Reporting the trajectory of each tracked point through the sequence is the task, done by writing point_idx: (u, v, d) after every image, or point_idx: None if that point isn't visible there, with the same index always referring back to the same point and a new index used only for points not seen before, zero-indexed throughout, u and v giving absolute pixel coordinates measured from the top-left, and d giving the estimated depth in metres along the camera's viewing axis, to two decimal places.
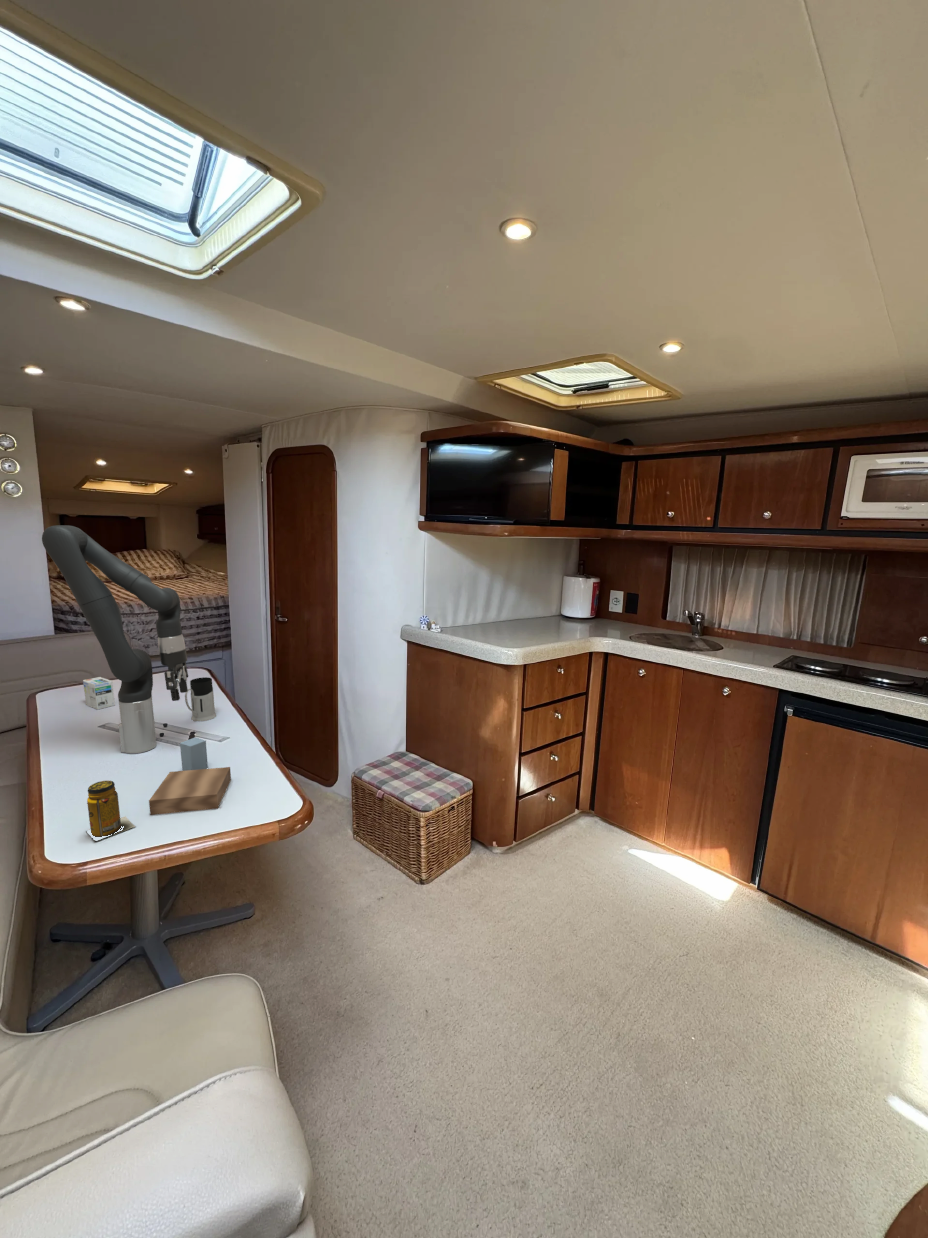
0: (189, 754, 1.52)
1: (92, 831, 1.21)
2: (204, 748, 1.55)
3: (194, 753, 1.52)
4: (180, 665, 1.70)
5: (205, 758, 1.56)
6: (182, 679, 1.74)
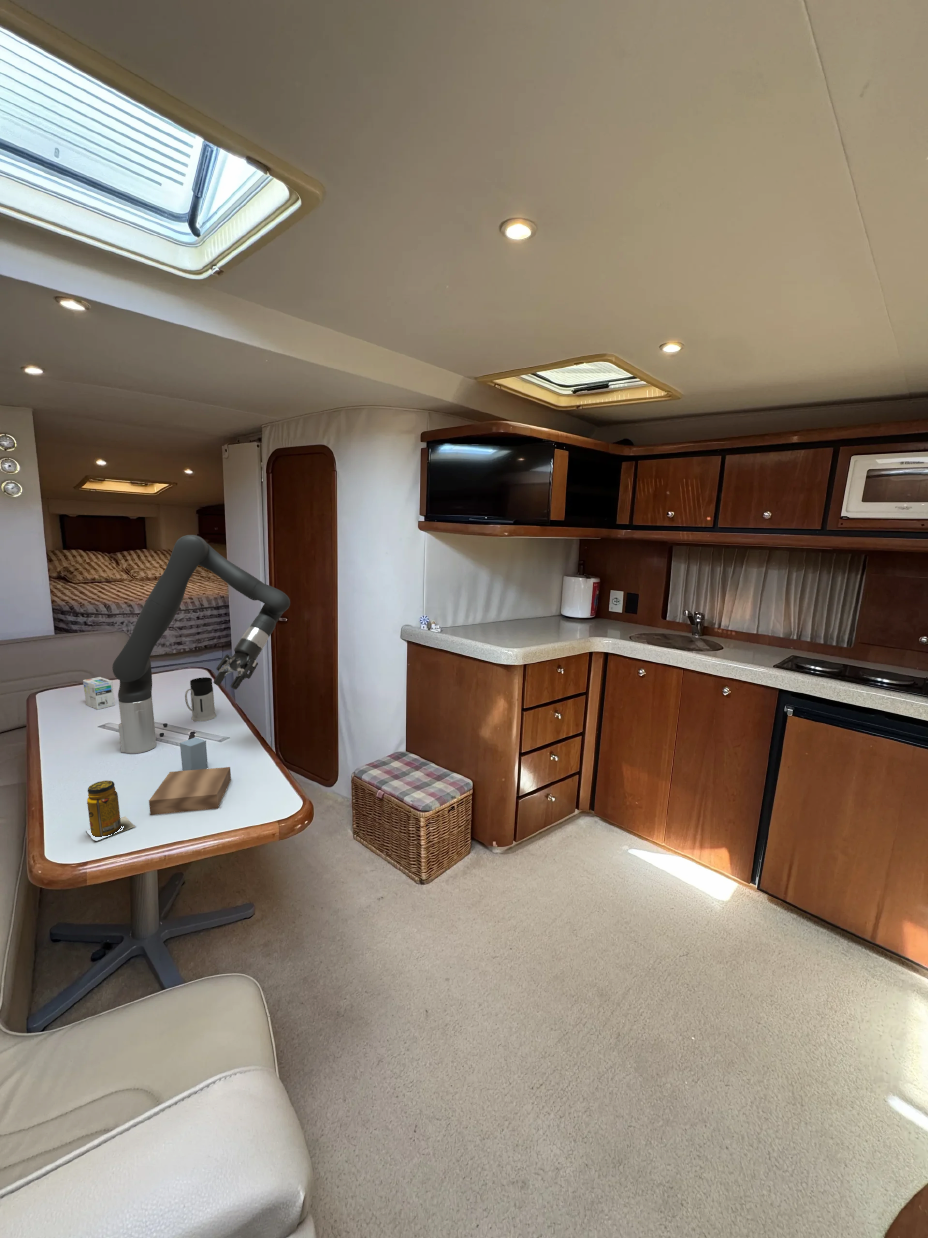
0: (189, 754, 1.52)
1: (92, 831, 1.21)
2: (204, 748, 1.55)
3: (194, 753, 1.53)
4: None
5: (205, 758, 1.56)
6: (224, 672, 1.66)
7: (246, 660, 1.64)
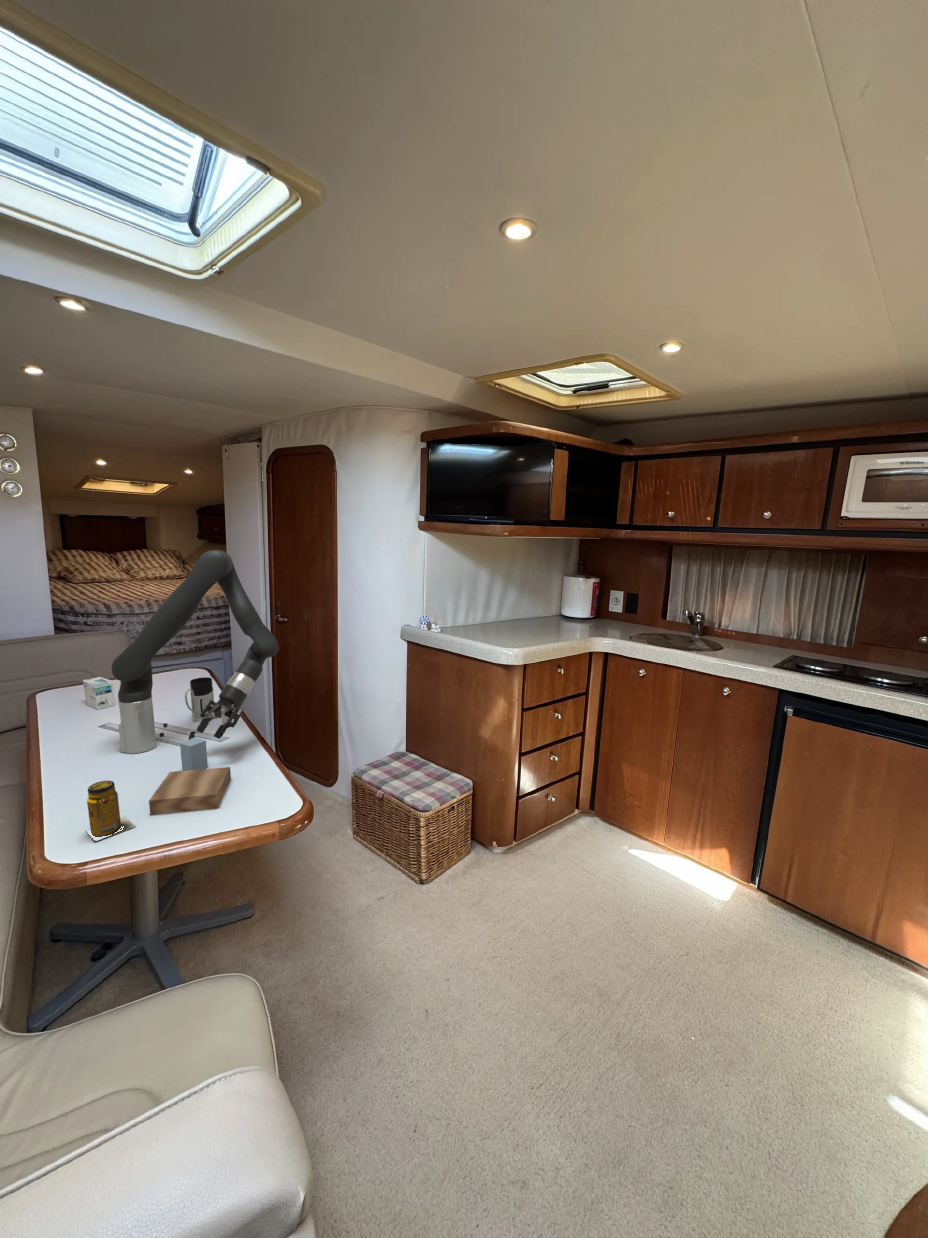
0: (189, 754, 1.52)
1: (92, 831, 1.21)
2: (204, 748, 1.55)
3: (194, 753, 1.52)
4: None
5: (205, 758, 1.56)
6: (208, 719, 1.63)
7: (231, 708, 1.61)
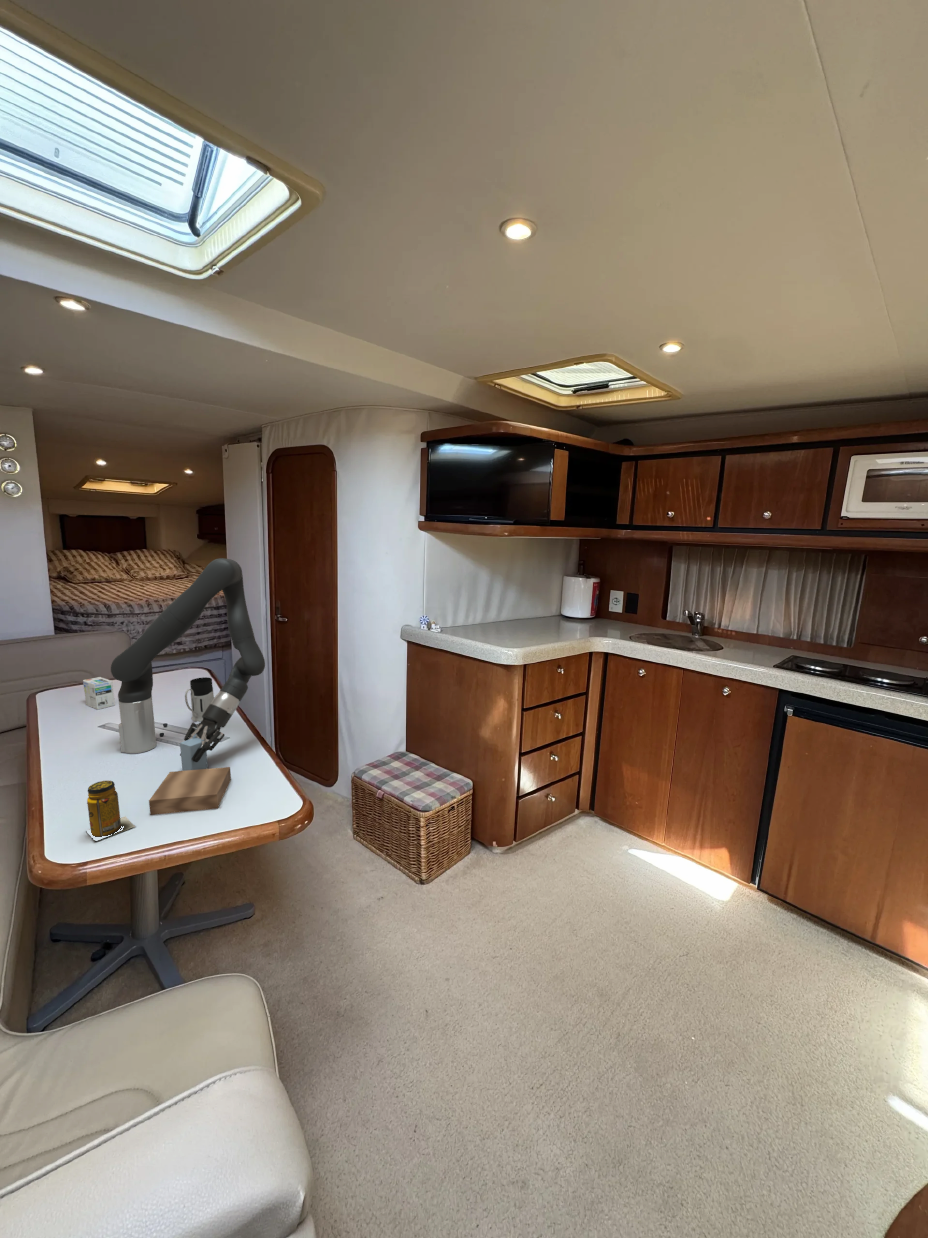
0: (189, 754, 1.52)
1: (92, 831, 1.21)
2: None
3: (194, 753, 1.52)
4: None
5: (205, 758, 1.56)
6: None
7: (213, 729, 1.56)
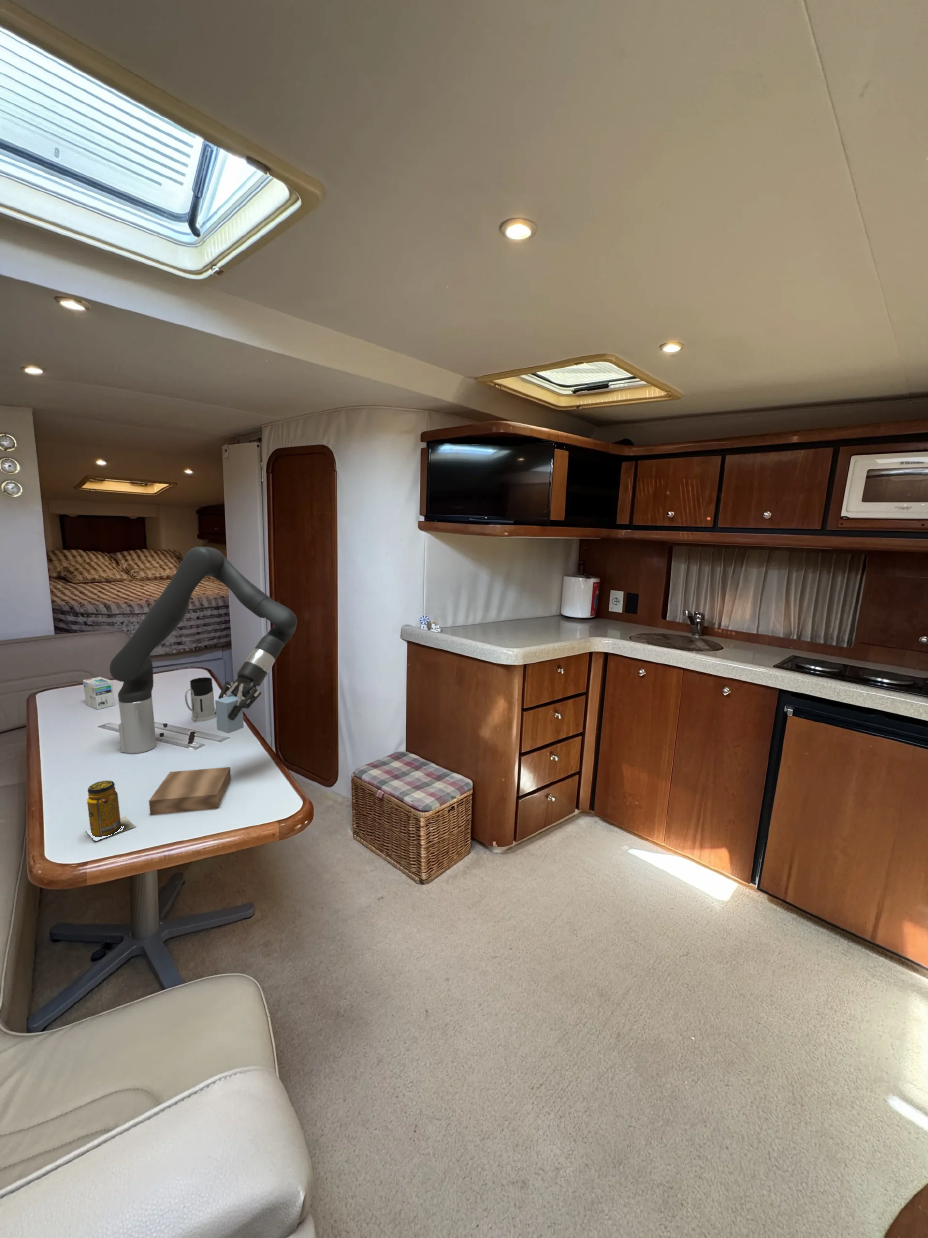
0: (225, 711, 1.45)
1: (92, 831, 1.21)
2: None
3: None
4: None
5: (241, 717, 1.49)
6: None
7: (250, 687, 1.49)
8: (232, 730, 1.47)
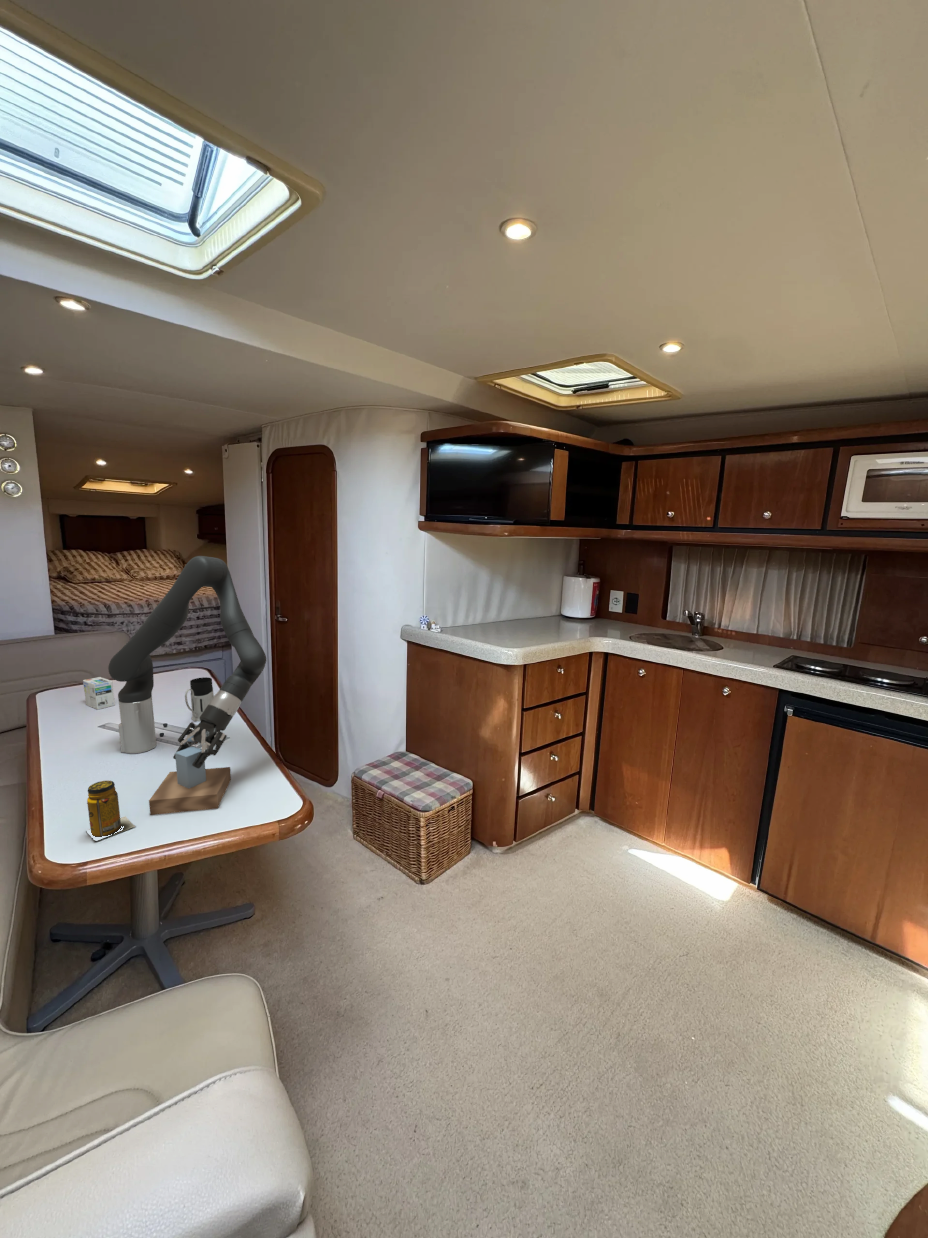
0: (185, 765, 1.36)
1: (92, 831, 1.21)
2: None
3: (191, 764, 1.36)
4: None
5: (203, 770, 1.40)
6: (187, 744, 1.42)
7: (213, 732, 1.40)
8: (193, 785, 1.38)
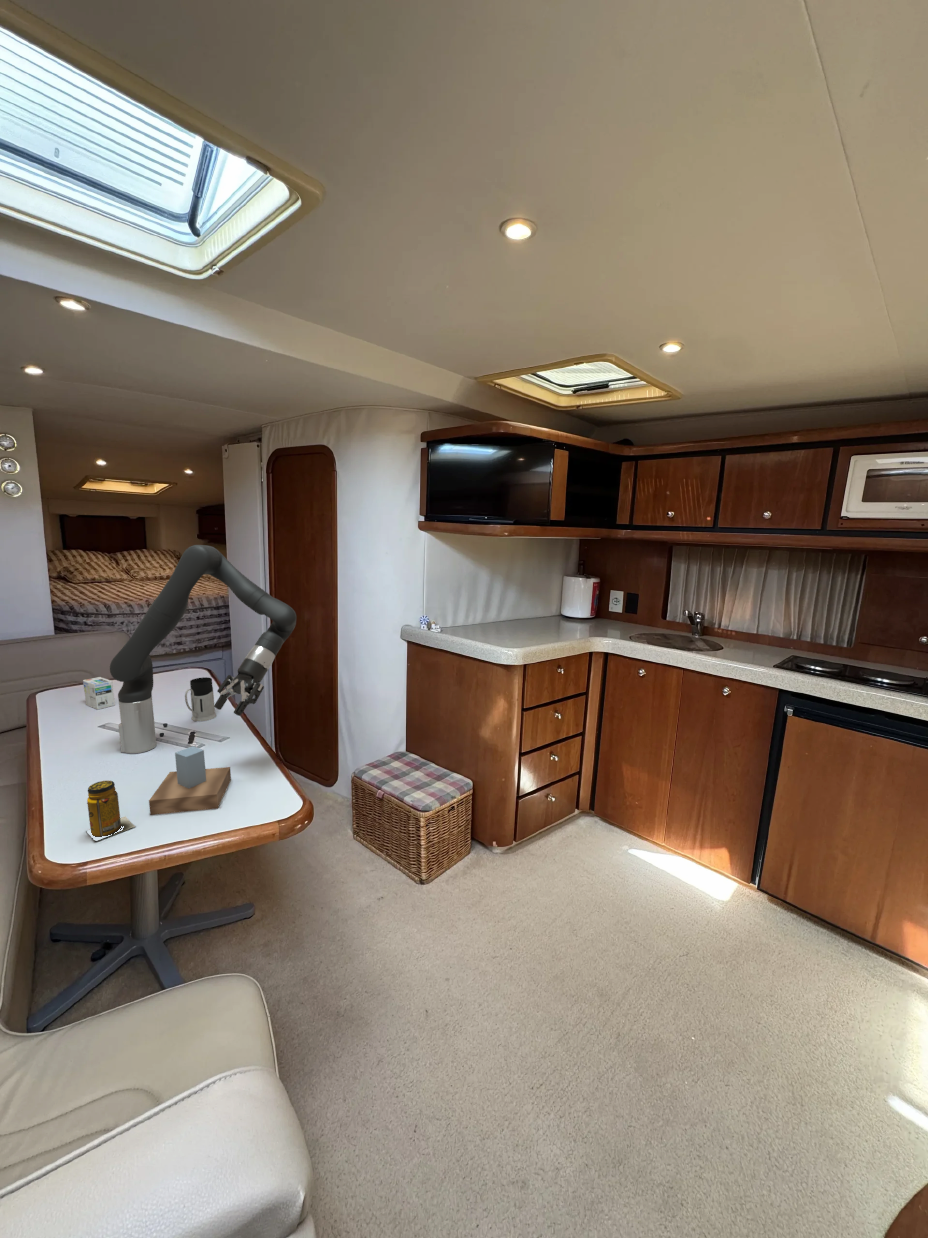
0: (185, 765, 1.36)
1: (92, 831, 1.21)
2: (202, 758, 1.39)
3: (191, 764, 1.36)
4: None
5: (203, 770, 1.40)
6: (226, 695, 1.52)
7: (251, 683, 1.50)
8: (193, 785, 1.38)
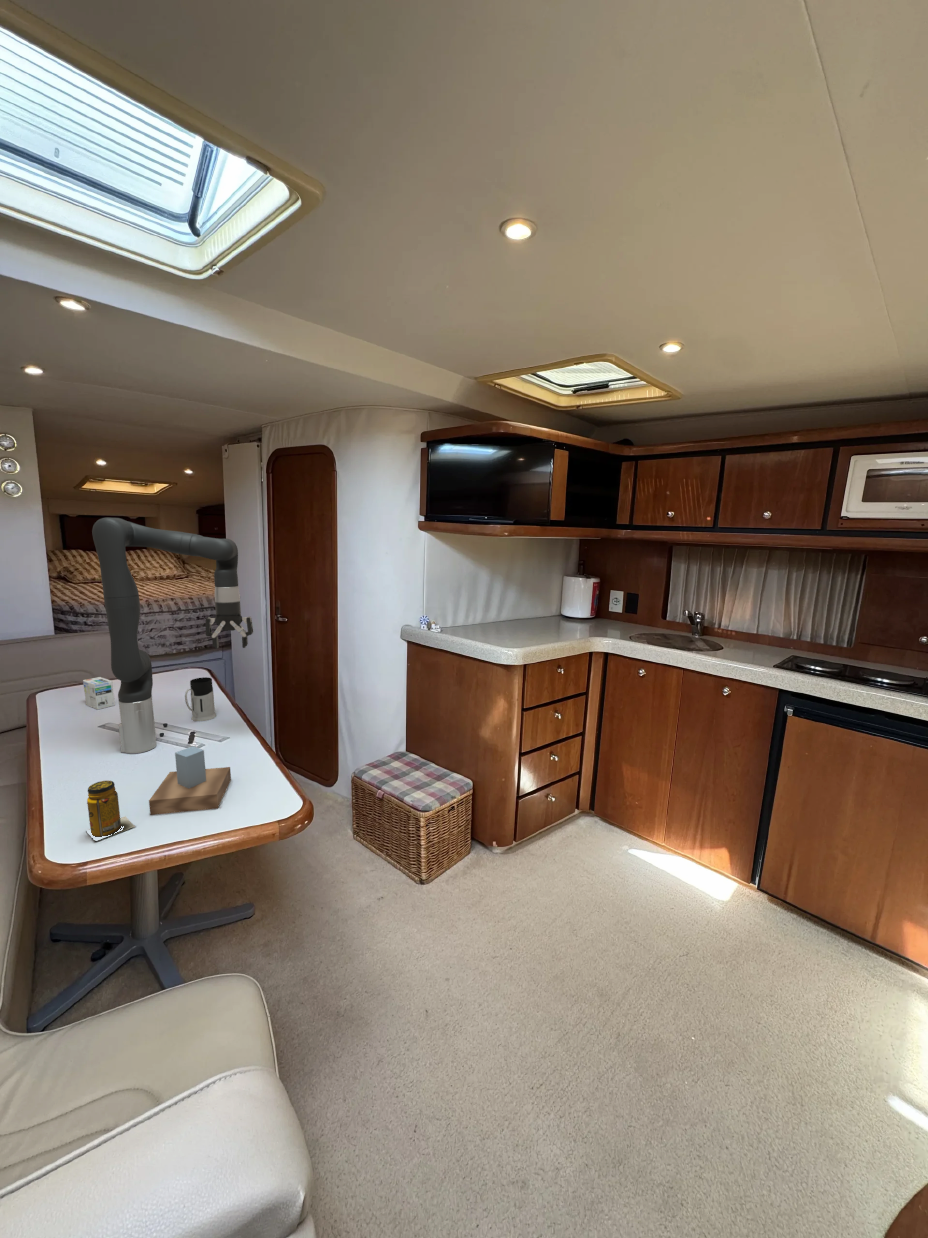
0: (185, 765, 1.36)
1: (92, 831, 1.21)
2: (202, 758, 1.39)
3: (191, 764, 1.36)
4: None
5: (203, 770, 1.40)
6: None
7: (240, 620, 1.69)
8: (193, 785, 1.38)
